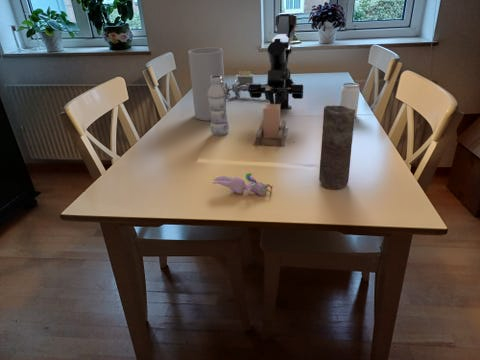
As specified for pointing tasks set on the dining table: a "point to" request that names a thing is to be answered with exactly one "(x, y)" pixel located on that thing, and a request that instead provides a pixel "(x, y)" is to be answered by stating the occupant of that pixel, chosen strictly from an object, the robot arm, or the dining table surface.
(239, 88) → the spaceship
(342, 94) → the can
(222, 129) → the plastic bottle
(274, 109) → the block
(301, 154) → the dining table surface
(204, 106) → the cylinder vase
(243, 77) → the platform
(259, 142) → the chute
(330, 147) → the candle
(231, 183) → the purple toy figure
